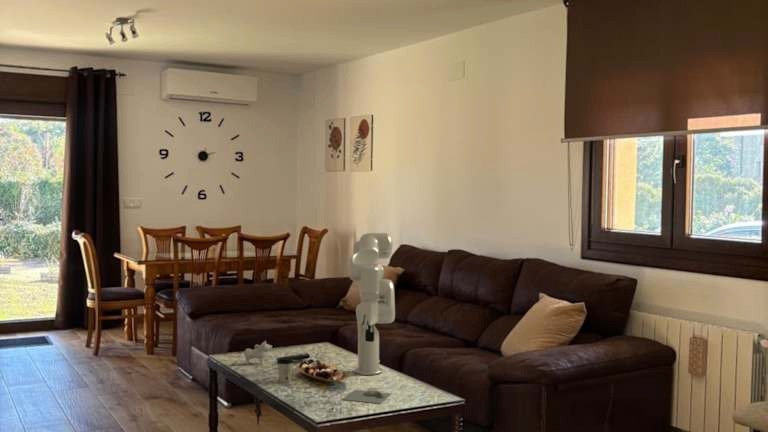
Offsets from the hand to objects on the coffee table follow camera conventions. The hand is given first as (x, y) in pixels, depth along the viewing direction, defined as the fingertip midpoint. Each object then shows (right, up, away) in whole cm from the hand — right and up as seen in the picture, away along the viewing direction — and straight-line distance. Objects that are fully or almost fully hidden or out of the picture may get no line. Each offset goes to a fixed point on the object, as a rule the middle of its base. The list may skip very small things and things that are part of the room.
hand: (369, 341), depth 309 cm
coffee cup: (-37, -21, +18) cm, 46 cm away
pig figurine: (-53, -19, +49) cm, 75 cm away
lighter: (+3, -20, +2) cm, 20 cm away
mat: (-1, -22, -4) cm, 22 cm away
